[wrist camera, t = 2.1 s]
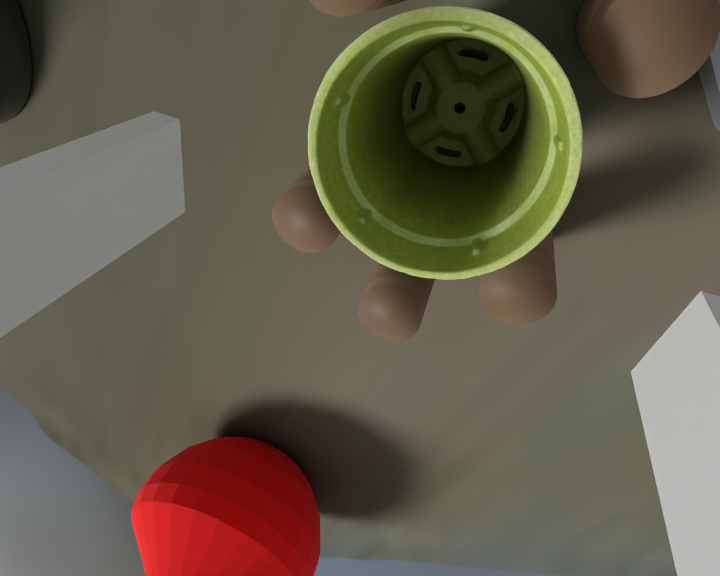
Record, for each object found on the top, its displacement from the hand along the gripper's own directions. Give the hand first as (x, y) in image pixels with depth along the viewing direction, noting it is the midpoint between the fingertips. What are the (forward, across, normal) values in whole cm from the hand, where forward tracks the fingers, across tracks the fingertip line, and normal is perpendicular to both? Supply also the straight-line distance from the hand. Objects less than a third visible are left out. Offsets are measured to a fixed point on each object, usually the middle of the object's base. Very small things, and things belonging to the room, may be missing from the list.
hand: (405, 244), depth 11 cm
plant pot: (+14, 0, 0) cm, 14 cm away
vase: (+14, -9, -41) cm, 44 cm away
